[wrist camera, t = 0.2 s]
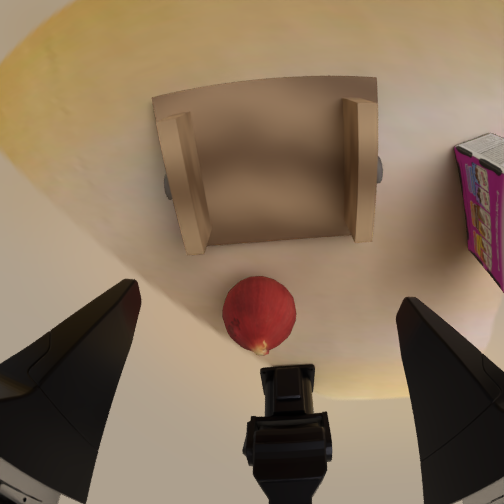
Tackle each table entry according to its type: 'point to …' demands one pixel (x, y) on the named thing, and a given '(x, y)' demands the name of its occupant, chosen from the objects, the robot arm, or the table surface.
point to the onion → (259, 314)
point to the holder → (271, 159)
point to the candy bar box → (484, 200)
